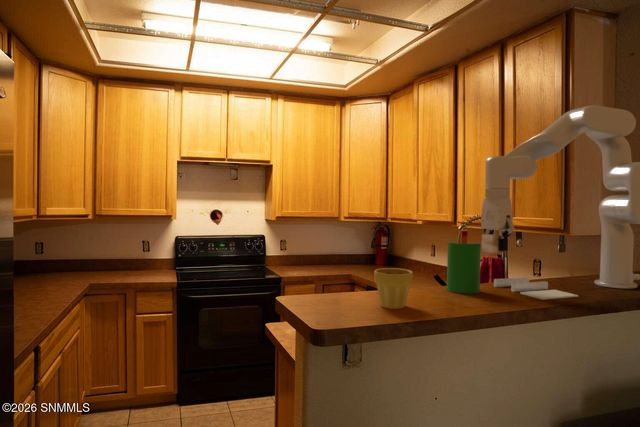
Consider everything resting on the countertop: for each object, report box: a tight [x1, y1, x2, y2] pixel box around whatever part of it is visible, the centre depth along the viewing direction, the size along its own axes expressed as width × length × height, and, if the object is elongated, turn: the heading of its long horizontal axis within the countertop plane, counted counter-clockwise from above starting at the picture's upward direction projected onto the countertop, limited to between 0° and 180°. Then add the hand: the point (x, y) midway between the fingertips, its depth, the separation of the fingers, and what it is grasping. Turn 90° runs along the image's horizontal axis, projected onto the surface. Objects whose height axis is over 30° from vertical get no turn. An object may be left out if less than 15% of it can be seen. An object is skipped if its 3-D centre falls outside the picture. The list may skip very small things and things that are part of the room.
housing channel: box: [493, 276, 549, 293], centre depth 155 cm, size 14×9×2 cm
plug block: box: [481, 233, 506, 254], centre depth 151 cm, size 5×5×6 cm
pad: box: [519, 289, 579, 301], centre depth 144 cm, size 14×9×1 cm, turn 109°
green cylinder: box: [446, 229, 482, 295], centre depth 149 cm, size 10×9×20 cm
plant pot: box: [373, 267, 414, 310], centre depth 127 cm, size 10×10×10 cm
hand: (496, 249), depth 151 cm, fingers closed on plug block, 5 cm apart
